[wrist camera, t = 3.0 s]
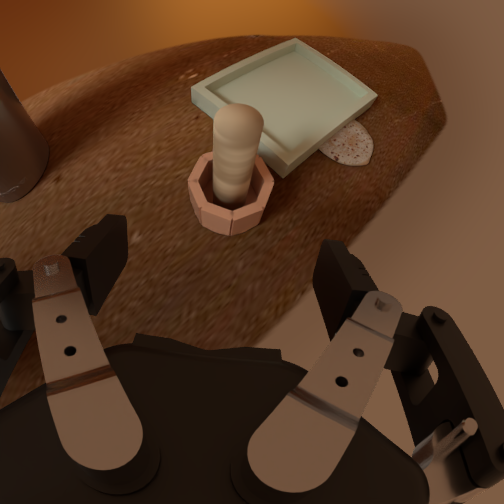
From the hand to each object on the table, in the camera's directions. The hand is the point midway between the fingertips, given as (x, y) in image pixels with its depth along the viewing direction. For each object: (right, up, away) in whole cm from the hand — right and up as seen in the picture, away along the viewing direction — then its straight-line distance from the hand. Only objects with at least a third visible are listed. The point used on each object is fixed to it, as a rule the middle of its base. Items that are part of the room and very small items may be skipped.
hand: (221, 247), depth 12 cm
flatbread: (+12, +13, +20) cm, 26 cm away
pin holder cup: (-1, +4, +16) cm, 16 cm away
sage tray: (+6, +18, +20) cm, 28 cm away
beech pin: (-1, +5, +15) cm, 16 cm away
